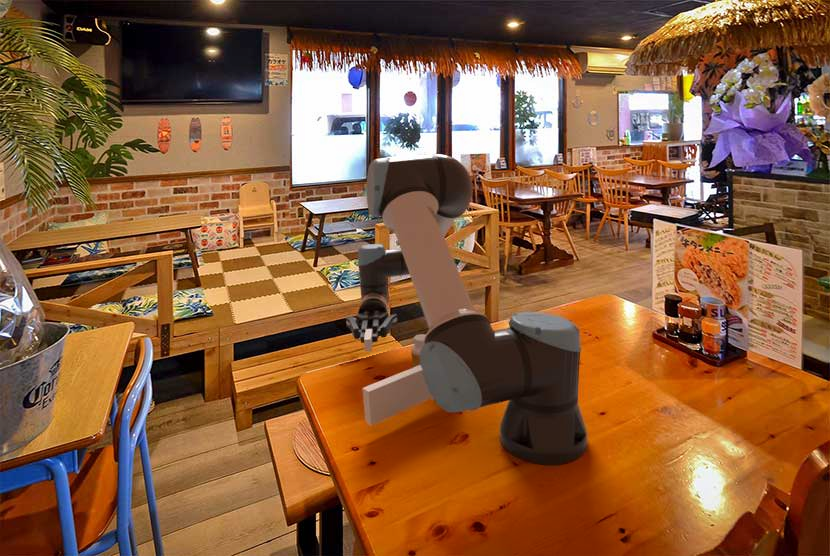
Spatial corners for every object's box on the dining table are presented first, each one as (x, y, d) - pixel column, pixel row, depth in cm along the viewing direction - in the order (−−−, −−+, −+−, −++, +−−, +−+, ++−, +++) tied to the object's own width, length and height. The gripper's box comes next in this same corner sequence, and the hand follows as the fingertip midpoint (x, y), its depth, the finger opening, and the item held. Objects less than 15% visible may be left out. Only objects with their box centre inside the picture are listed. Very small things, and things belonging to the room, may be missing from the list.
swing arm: (443, 386, 105) (442, 356, 104) (449, 389, 104) (448, 358, 102) (365, 421, 94) (362, 388, 92) (371, 425, 92) (368, 391, 90)
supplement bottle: (433, 381, 113) (431, 342, 111) (410, 380, 114) (408, 341, 112) (437, 371, 118) (435, 333, 116) (415, 370, 119) (413, 332, 117)
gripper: (398, 323, 132) (399, 359, 109) (349, 326, 131) (339, 363, 109) (396, 295, 130) (396, 327, 107) (347, 299, 129) (336, 331, 107)
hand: (367, 345), depth 108 cm, fingers closed
